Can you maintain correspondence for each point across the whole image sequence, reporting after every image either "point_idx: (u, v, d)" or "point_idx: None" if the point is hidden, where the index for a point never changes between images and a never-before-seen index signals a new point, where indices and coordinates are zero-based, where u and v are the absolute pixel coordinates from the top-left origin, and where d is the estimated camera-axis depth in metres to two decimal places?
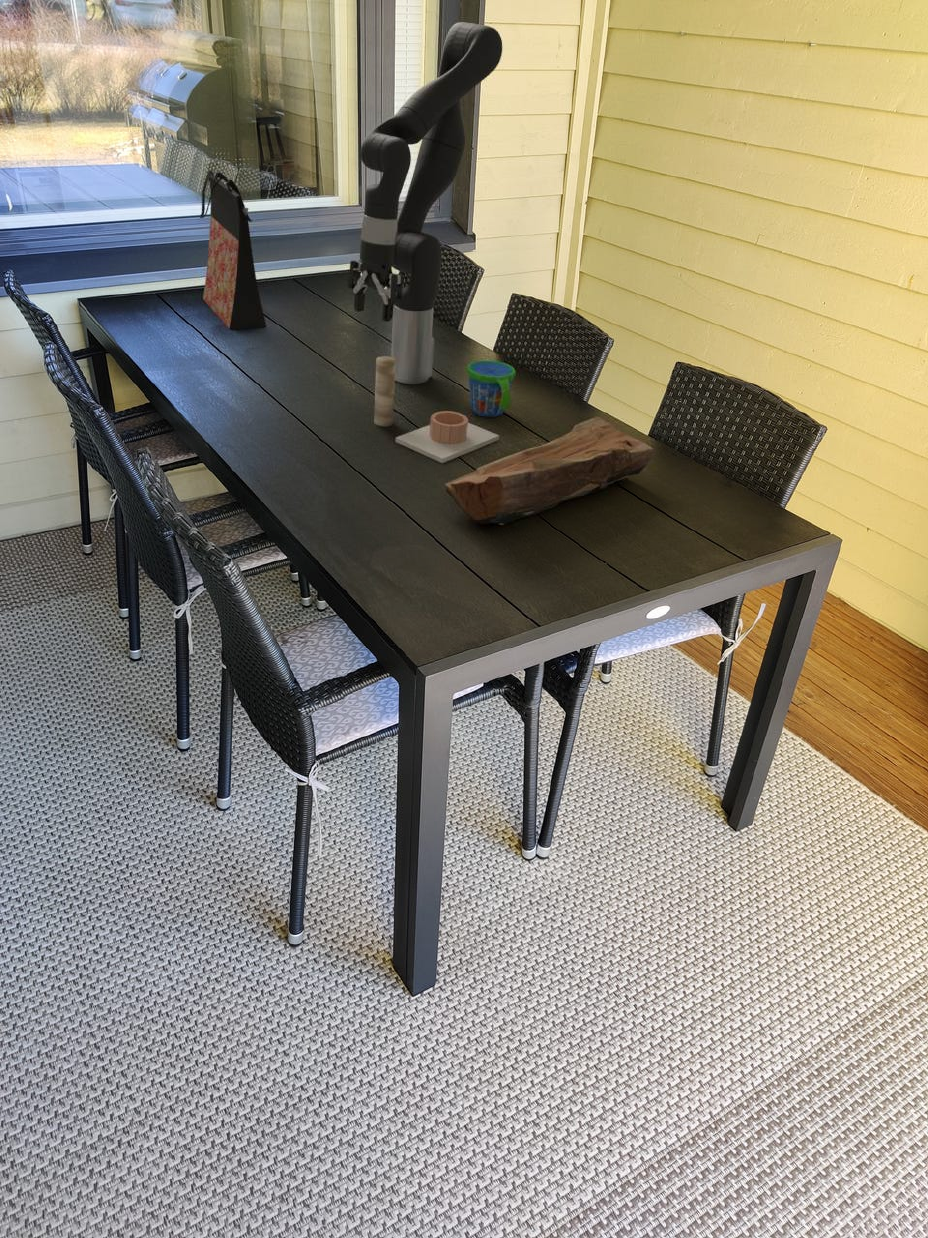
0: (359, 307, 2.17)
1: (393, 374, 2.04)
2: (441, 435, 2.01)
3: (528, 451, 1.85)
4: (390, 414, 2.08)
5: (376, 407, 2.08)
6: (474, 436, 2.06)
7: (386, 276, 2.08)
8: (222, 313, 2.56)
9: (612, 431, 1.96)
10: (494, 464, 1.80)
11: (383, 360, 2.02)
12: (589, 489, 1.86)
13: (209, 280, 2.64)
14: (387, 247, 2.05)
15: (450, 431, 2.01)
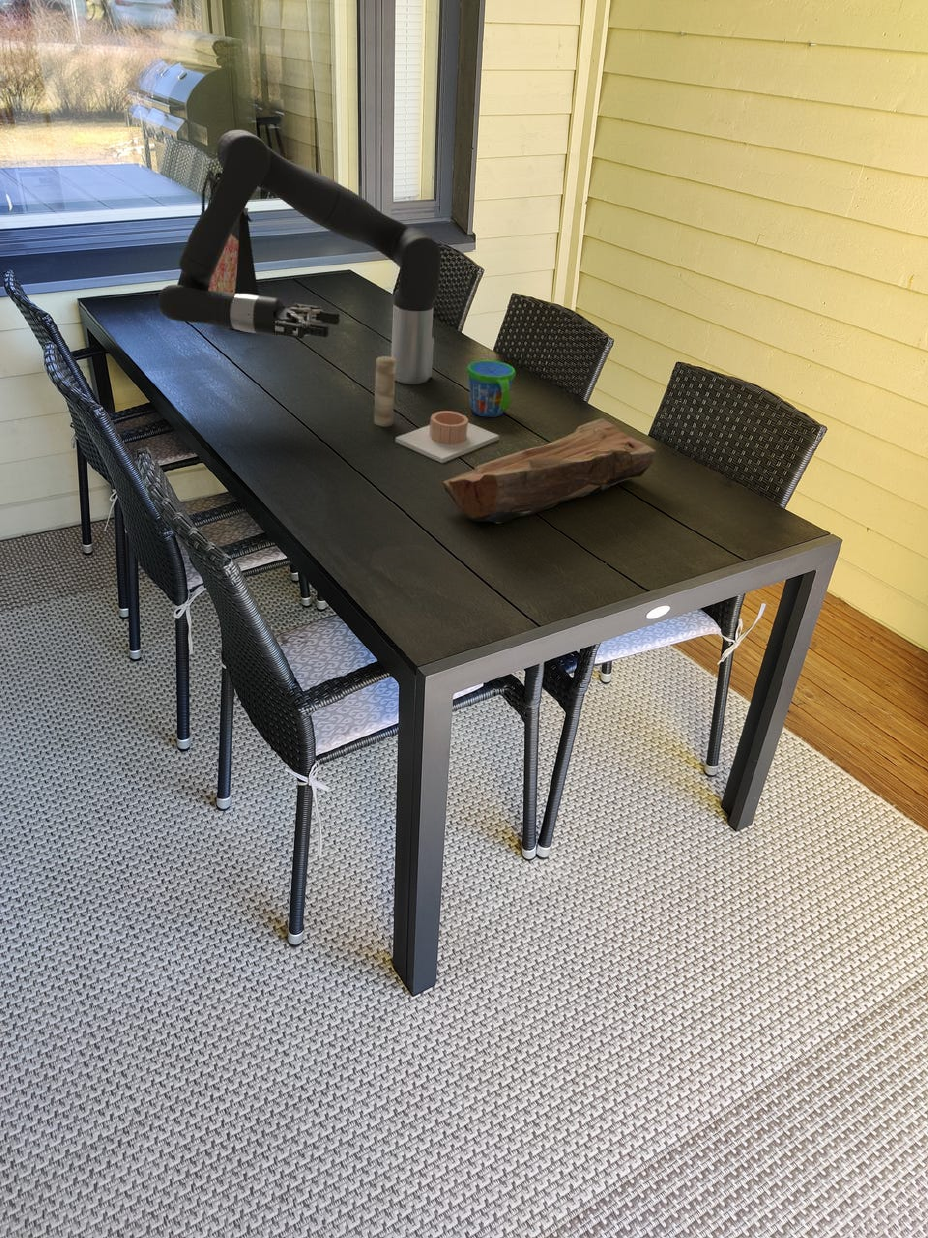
0: (334, 320, 2.04)
1: (393, 374, 2.04)
2: (441, 435, 2.01)
3: (528, 451, 1.85)
4: (390, 414, 2.08)
5: (376, 407, 2.08)
6: (474, 436, 2.06)
7: None
8: None
9: (616, 432, 1.96)
10: (493, 463, 1.81)
11: (383, 360, 2.02)
12: (589, 490, 1.86)
13: None
14: (256, 325, 1.99)
15: (450, 431, 2.01)
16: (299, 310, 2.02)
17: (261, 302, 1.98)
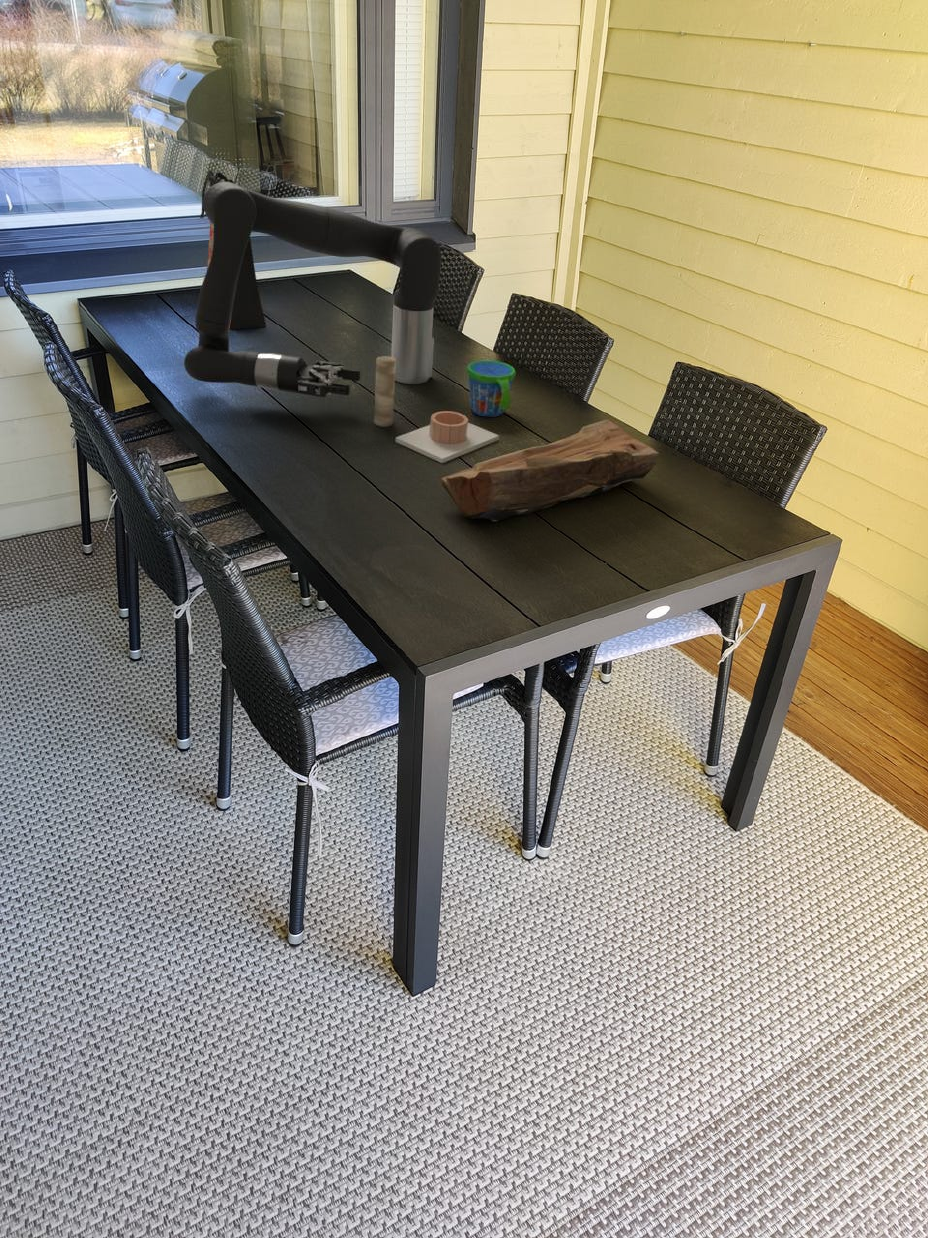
0: (355, 377, 2.10)
1: (393, 374, 2.04)
2: (441, 435, 2.01)
3: (529, 450, 1.86)
4: (390, 414, 2.08)
5: (376, 407, 2.08)
6: (474, 436, 2.06)
7: None
8: None
9: (620, 434, 1.96)
10: (492, 461, 1.82)
11: (383, 360, 2.02)
12: (589, 490, 1.86)
13: None
14: (280, 383, 2.06)
15: (450, 431, 2.01)
16: (321, 368, 2.08)
17: (284, 362, 2.05)
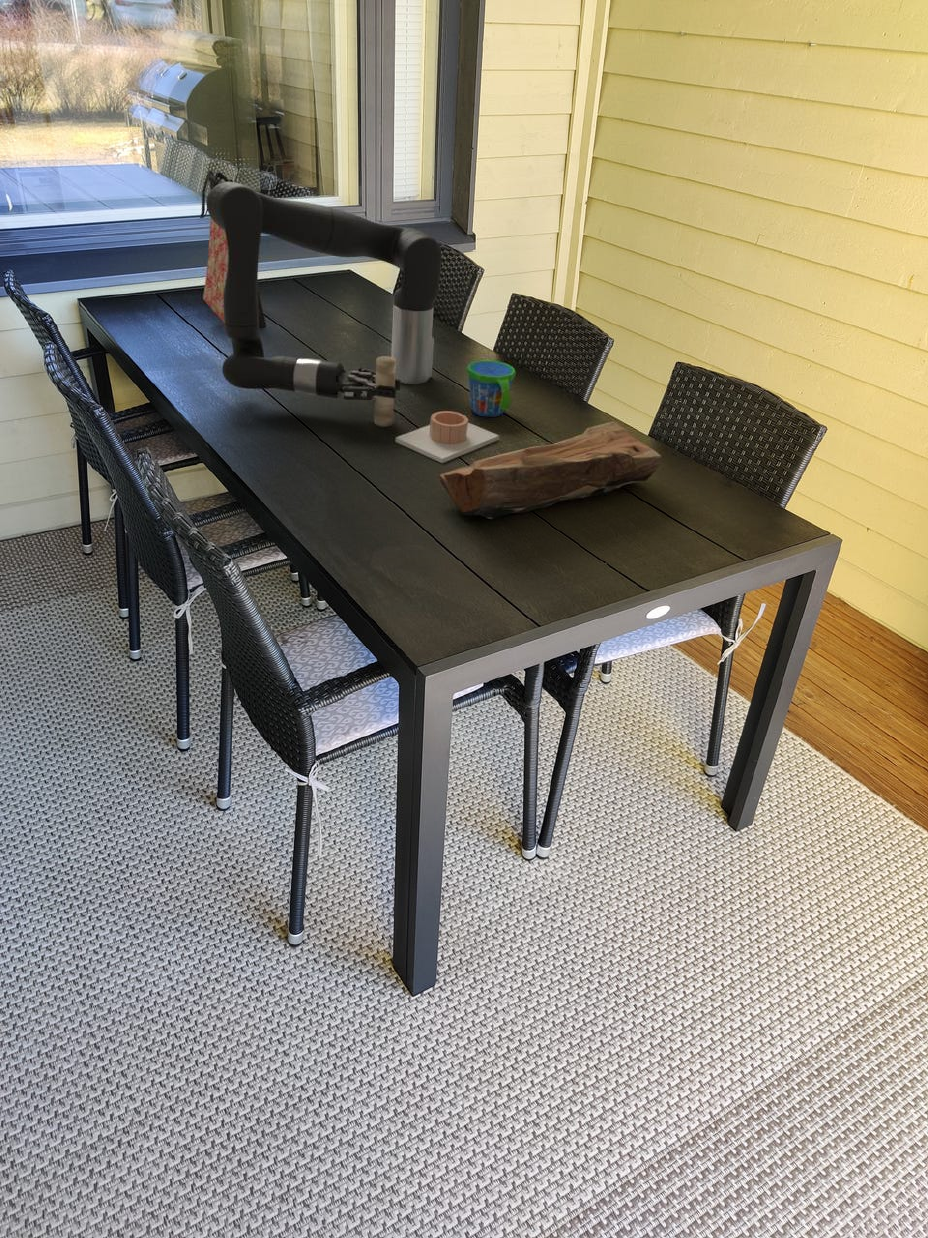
0: (396, 386, 2.08)
1: (393, 374, 2.04)
2: (441, 435, 2.01)
3: (530, 449, 1.86)
4: (390, 414, 2.08)
5: (376, 407, 2.08)
6: (474, 436, 2.06)
7: None
8: (222, 313, 2.56)
9: (625, 436, 1.95)
10: (491, 459, 1.82)
11: (383, 360, 2.02)
12: (588, 491, 1.85)
13: (209, 280, 2.64)
14: (318, 389, 2.05)
15: (450, 431, 2.01)
16: (359, 374, 2.07)
17: (323, 367, 2.04)
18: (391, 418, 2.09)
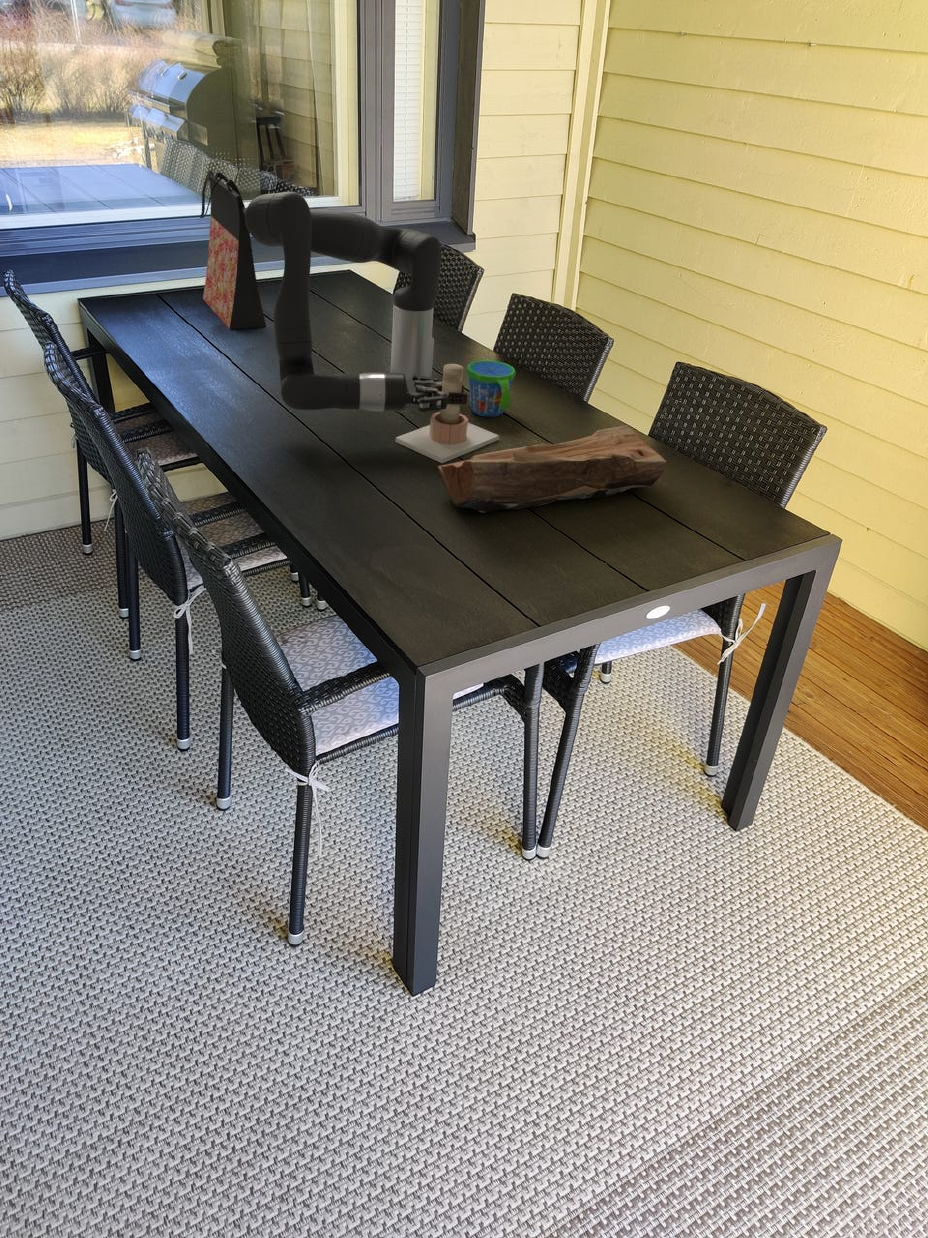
0: None
1: None
2: (441, 435, 2.01)
3: (532, 447, 1.87)
4: (457, 423, 2.03)
5: (444, 417, 2.01)
6: (474, 436, 2.06)
7: (416, 404, 1.96)
8: (222, 313, 2.56)
9: (634, 440, 1.93)
10: (491, 454, 1.84)
11: (452, 369, 1.96)
12: (587, 492, 1.85)
13: (209, 280, 2.64)
14: (388, 403, 1.95)
15: (450, 431, 2.01)
16: (423, 383, 1.99)
17: (391, 380, 1.94)
18: None
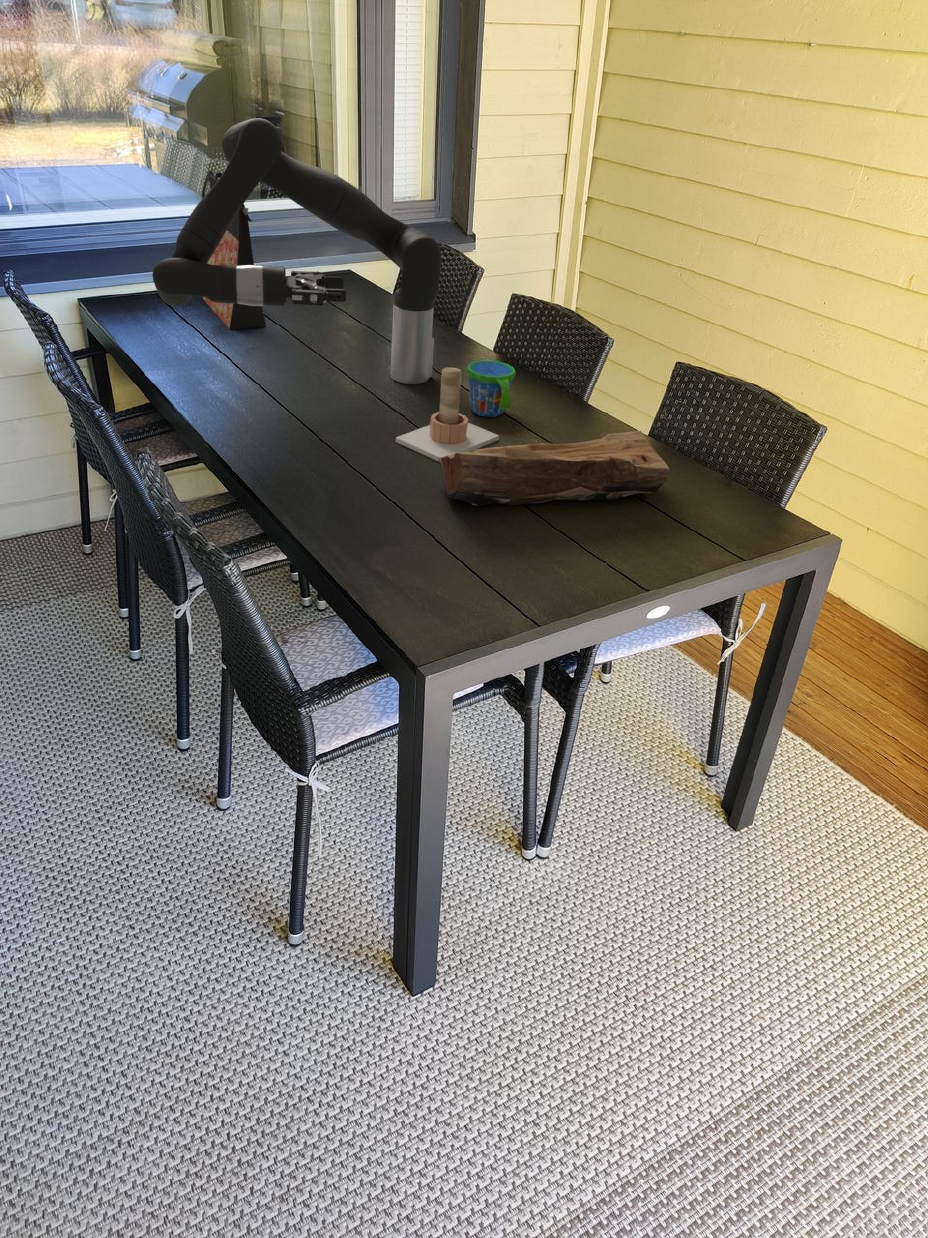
0: (339, 284, 1.97)
1: (460, 384, 1.99)
2: (441, 435, 2.01)
3: (535, 445, 1.88)
4: None
5: (443, 421, 2.02)
6: (474, 436, 2.06)
7: None
8: (222, 313, 2.55)
9: (644, 446, 1.91)
10: (492, 449, 1.86)
11: (451, 372, 1.97)
12: (584, 494, 1.84)
13: None
14: (266, 296, 1.89)
15: (450, 431, 2.01)
16: (305, 277, 1.93)
17: (269, 272, 1.88)
18: None
